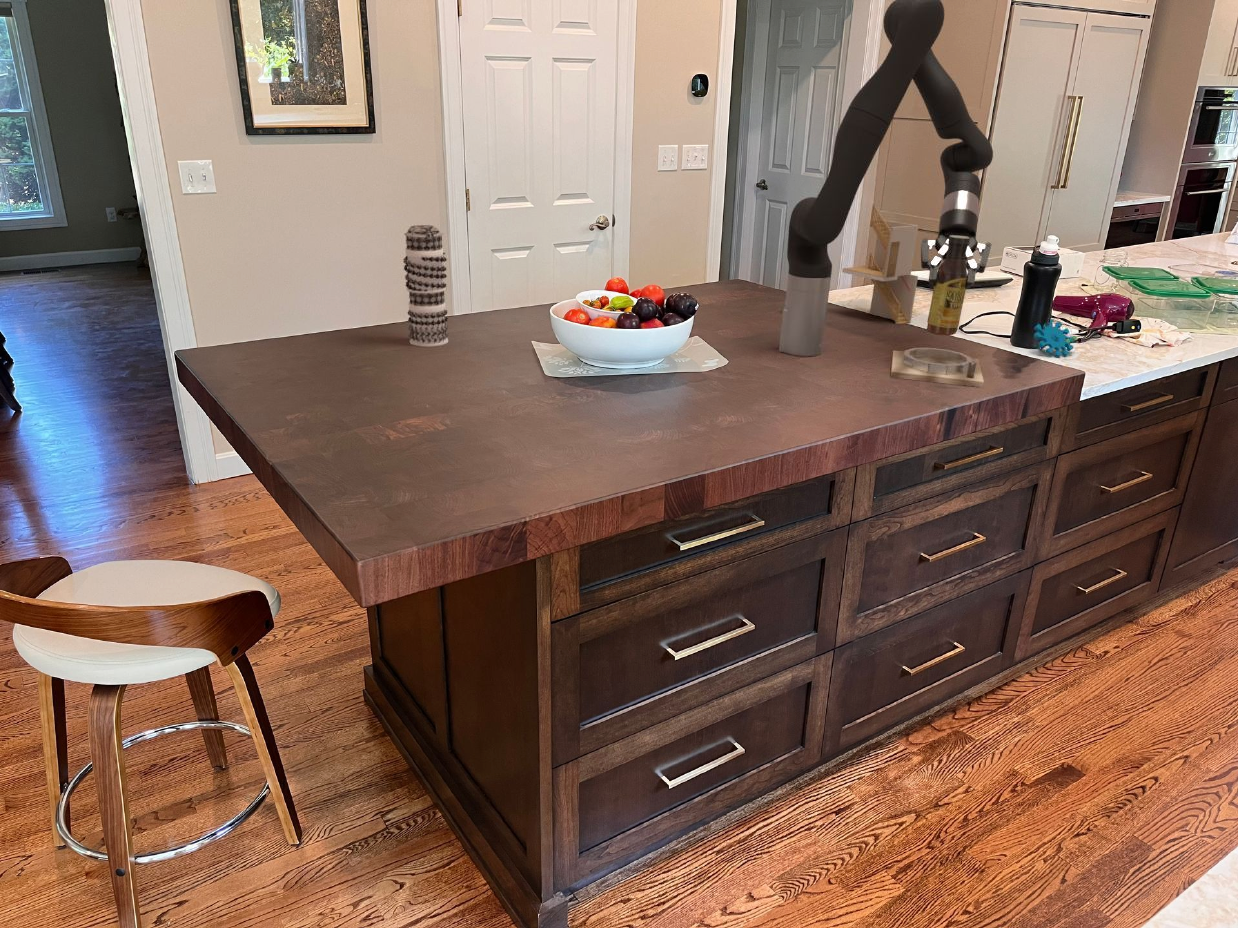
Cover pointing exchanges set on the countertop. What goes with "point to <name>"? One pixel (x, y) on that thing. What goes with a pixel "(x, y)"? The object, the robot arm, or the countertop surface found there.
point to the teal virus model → (1054, 338)
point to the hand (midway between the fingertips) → (951, 285)
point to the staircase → (891, 269)
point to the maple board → (907, 373)
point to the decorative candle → (426, 286)
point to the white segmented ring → (936, 368)
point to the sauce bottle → (949, 289)
